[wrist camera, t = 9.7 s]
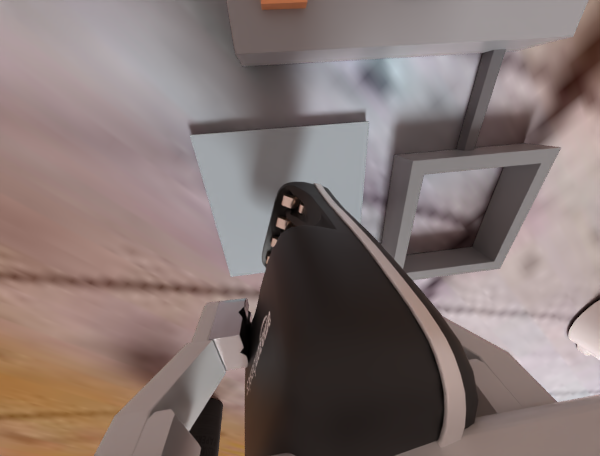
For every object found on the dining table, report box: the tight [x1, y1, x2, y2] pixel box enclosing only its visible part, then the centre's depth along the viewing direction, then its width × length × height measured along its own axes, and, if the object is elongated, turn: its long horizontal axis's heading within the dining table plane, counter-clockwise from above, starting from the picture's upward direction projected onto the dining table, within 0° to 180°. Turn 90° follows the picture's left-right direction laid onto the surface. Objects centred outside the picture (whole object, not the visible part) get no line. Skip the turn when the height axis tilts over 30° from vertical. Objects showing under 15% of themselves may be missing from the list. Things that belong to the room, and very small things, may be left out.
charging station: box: [226, 0, 588, 280], centre depth 15 cm, size 22×22×4 cm
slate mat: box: [190, 121, 369, 277], centre depth 17 cm, size 12×12×1 cm
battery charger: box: [245, 182, 479, 456], centre depth 9 cm, size 7×4×11 cm, turn 164°
